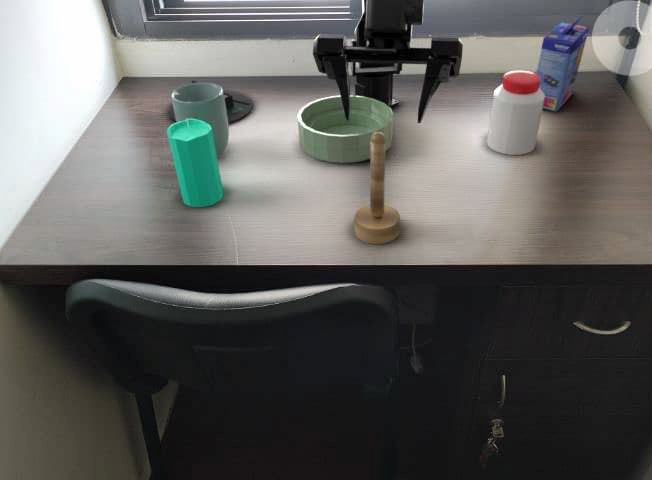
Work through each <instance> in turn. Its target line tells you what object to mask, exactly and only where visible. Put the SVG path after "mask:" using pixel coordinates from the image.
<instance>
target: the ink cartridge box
mask: <svg viewBox="0 0 652 480" xmlns="http://www.w3.org/2000/svg"><path fill="white" fill-rule="evenodd" d="M582 17H583V15H580V16H578V18H577V19H576V20H575V21H574V22H573V23H569V22H562V21H561V22H559V23H558V24H557V25H556V26H555V27H554V28H553V29H551V30H550V31H549V32H548V33H547V34H546V35H545V36H544V37H543V39H542V44H541V48H540V51H539V58H538V61H537V66H536V71H535V74H537V75H539V76H540V78H541V80H540V85H539V87H540V89H541V90H542V91H543V92H544V94H545V99H544V104H543V109H542V110H548V111H549V112H550V111H551V112H553V113H557V112H558V111H559V109H560V108H561V107H562V106H563V105H564V104H565V103H566V101H568V99H569V98H570V97H571V96H572V94H573V91H574V87H575V83H576V79H577V76H578V72H579V69H580V65H581V61H582V57H583V53H584V49H585V46H586V42H587V37H588V34H589V31H590V27H589V26H585V25H580V24H578V23H579V22H580V20H581V19H582Z"/></svg>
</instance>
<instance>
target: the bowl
mask: <svg viewBox="0 0 652 480" xmlns="http://www.w3.org/2000/svg"><path fill="white" fill-rule="evenodd" d="M350 105H351V112H350V120H349V121H347V120H346V117H345V113H344V108H343V104H342V99H341V95H332V96H327V97H321V98H318V99H315V100H313V101H311V102H308V103H307V104H305V105H303V107H301V108H300V109H299V111H298V113H297V114H296V115H297V127H298V128H297V129H298V140H299V141H298V142H299V147H300V148H301V149H302V150H303V152H304V153H305V154H307V155H309V156H311V157H312V158H314V159H317V160H321V161H325V162H329V163H339V164H341V163H342V164H346V163H359V162H363V161H366V160H370V151H371V136H372V135H373V134H374V133H376V132H380V133H382V134H383V135H384V136H385V139H386V144H385V152H387V151H388V150H389V149H390V148H391V146H392V143H393V137H394V136H393V135H394V134H393V133H394V113H393V110H392V107H391V108H389V107H388V106H387V105H386V104H385V103H383V102H380V101H378V100H376V99H373V98H368V97H363V96H355V95H353V94H352V95H351V94H350Z"/></svg>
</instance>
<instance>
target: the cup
mask: <svg viewBox="0 0 652 480" xmlns="http://www.w3.org/2000/svg"><path fill="white" fill-rule="evenodd" d="M223 91H224V89H223V88H222V87H221V86H220V85H219V84H217V83H213V82H212V83H211V82H198V83H192V82H191V83H187V84H183V85H181V86H179V87H177V88H175V90H173V91H172V93H171V104H172V105H173V109H174V114H175V118H176V122H175V123H177V122H180V121H183V120H187V119H191V118H192V119H197V120H201V121H204V122H205V123H207V124H209V125H210V126H211V128H212V133H213V139H214V144H215V150H216V155H217V157H218V156H220V155H221V154H222V153H223V152H224V151H225V150H226V149H227V147H228V144H229V139H230V128H229V127H230V126H229V125H230V124H228V116H227V110H226V103H225V97H224V93H223ZM186 118H187V119H186Z"/></svg>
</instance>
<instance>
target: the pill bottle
mask: <svg viewBox="0 0 652 480" xmlns="http://www.w3.org/2000/svg"><path fill="white" fill-rule="evenodd" d="M540 80H541V78H540V76H539V75H537V74H536V72H533V71H528V70H520V69H519V70H511V71H508V72H506V73H504V75H503V79H502V83H501V84H500V85H499V86H497V87H496V88H495V89H494V91H493V95H492V103H491V109H490V116H489V123H488V131H487V138H486V144H487V146H488V147H489V149H491V150H492V151H494V152H497V153H499V154H503V155H508V156H521V155H525V154H528V153H531V152H533V151H534V149H535V147H536V144H537V140H538V139H537V138H538V132H539V129H540V123H541V119H542V113H543V110H544V109H543V104H544V99H545V94H544V92H543V91H542V90H541V89H540V87H539V85H540Z"/></svg>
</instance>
